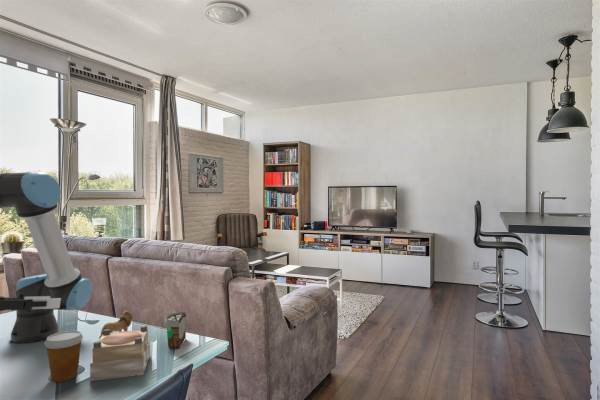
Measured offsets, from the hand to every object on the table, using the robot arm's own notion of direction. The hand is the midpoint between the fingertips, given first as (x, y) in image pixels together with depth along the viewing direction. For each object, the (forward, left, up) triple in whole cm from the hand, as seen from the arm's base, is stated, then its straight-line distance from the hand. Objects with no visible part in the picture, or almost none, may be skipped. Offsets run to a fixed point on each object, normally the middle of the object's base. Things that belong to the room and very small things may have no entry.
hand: (54, 301), depth 109 cm
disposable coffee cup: (+2, +3, -22) cm, 22 cm away
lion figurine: (-29, +11, -22) cm, 37 cm away
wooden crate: (0, +18, -22) cm, 28 cm away
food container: (-16, +32, -22) cm, 42 cm away
